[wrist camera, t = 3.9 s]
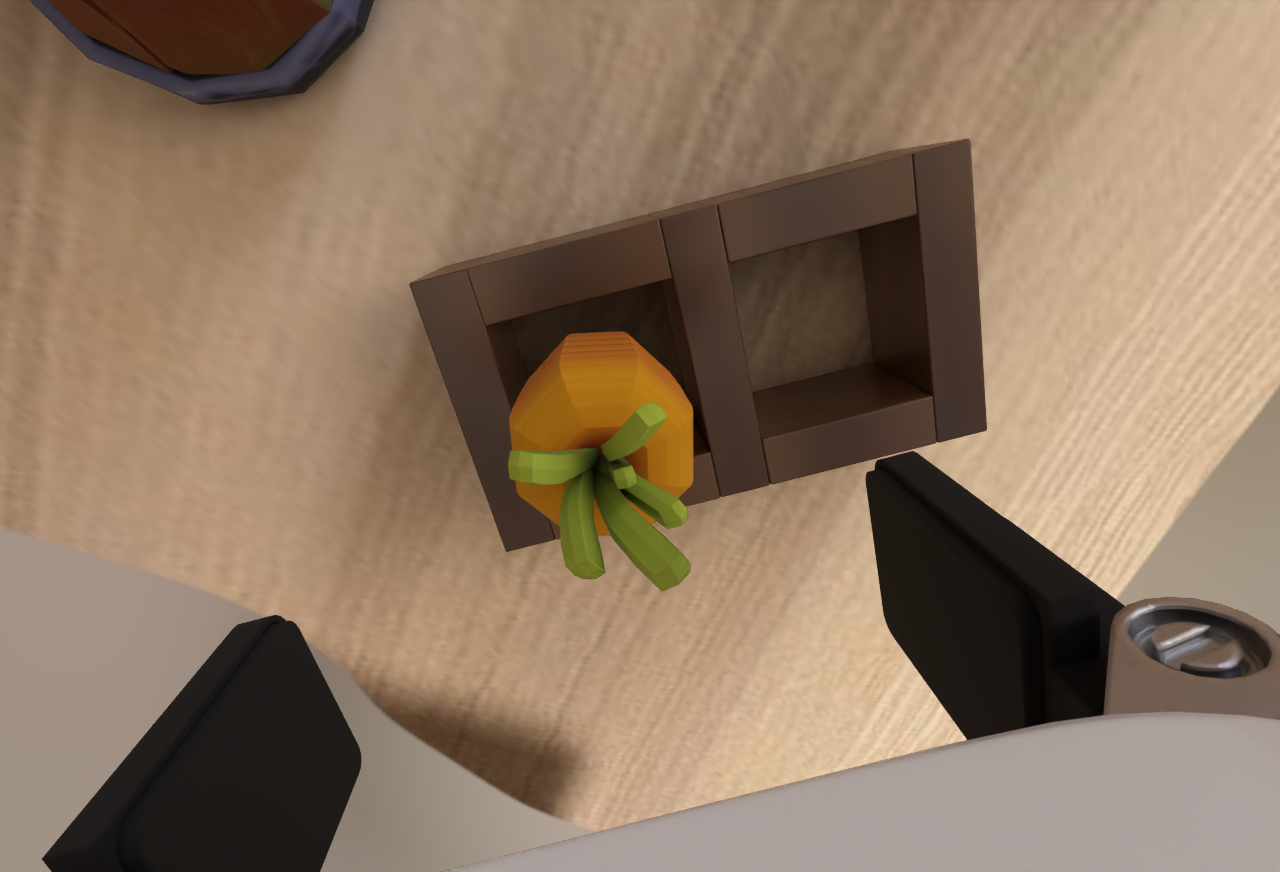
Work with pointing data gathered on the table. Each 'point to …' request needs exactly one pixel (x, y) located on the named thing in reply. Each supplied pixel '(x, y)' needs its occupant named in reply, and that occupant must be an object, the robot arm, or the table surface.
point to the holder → (710, 331)
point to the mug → (213, 42)
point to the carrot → (606, 452)
